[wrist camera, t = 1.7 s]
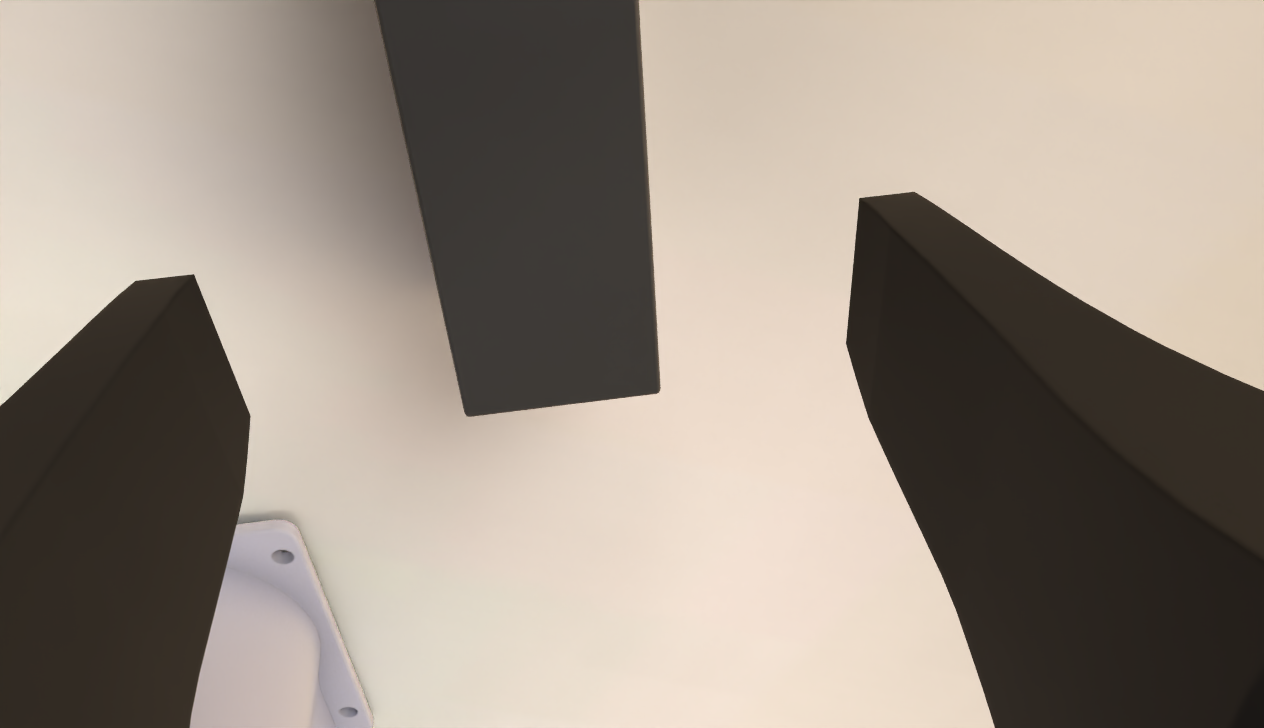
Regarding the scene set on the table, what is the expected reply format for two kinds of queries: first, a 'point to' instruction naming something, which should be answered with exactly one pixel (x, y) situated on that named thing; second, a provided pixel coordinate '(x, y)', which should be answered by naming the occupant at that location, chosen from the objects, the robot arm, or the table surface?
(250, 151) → the table surface
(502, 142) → the dark grey eraser block
